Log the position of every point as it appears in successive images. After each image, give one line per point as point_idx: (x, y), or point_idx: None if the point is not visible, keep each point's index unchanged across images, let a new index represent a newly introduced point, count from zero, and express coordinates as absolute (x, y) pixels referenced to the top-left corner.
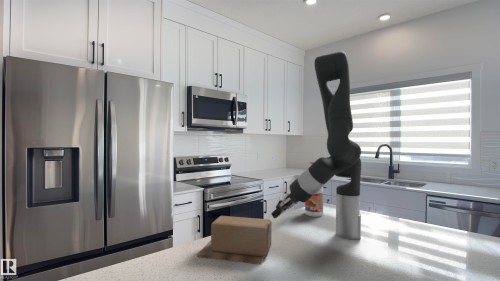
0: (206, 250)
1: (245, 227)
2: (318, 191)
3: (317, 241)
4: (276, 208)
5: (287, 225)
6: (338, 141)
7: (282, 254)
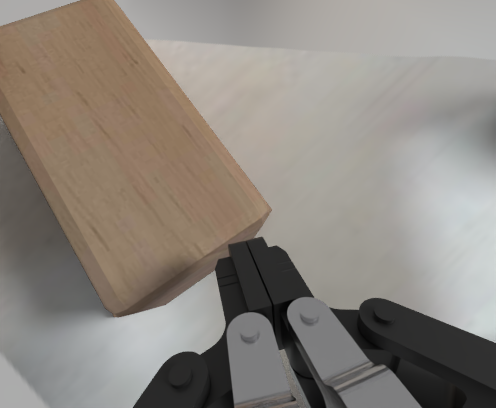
0: None
1: (47, 198)
2: None
3: (450, 324)
4: (245, 297)
5: (452, 140)
6: None
7: None
